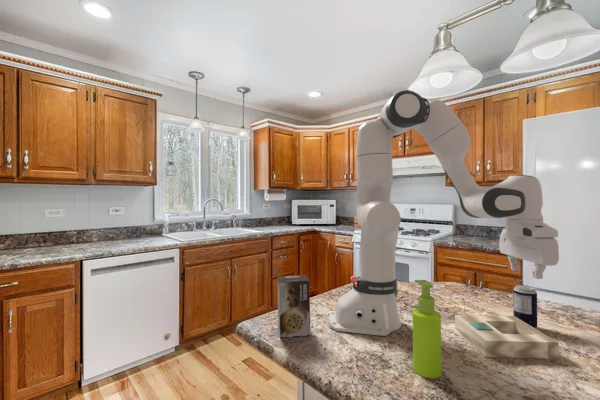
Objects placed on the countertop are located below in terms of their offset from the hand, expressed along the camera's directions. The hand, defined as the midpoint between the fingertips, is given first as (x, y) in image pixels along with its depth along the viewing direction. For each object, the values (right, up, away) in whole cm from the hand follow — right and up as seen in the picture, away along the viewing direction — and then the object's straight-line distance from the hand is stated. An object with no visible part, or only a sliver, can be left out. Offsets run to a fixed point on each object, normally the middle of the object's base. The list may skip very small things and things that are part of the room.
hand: (525, 274), depth 87 cm
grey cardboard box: (-71, -17, -2) cm, 73 cm away
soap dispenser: (-40, -17, -21) cm, 48 cm away
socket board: (-14, -16, -9) cm, 23 cm away
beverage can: (0, -16, 0) cm, 16 cm away
